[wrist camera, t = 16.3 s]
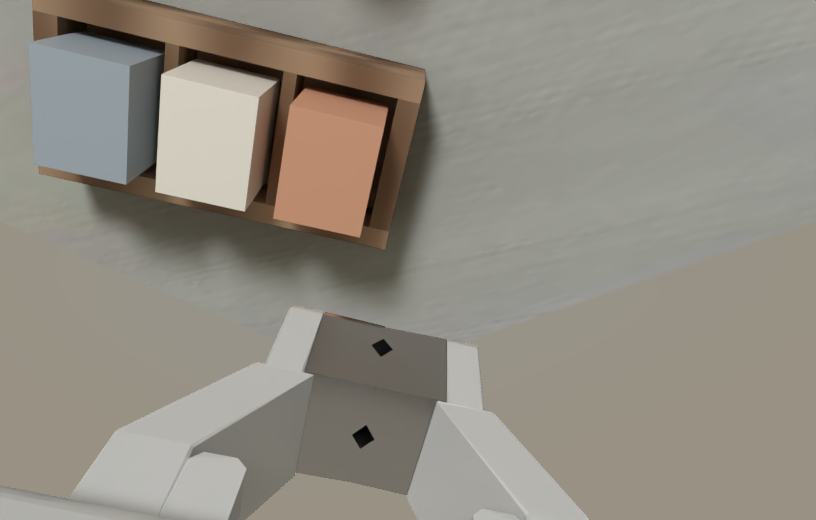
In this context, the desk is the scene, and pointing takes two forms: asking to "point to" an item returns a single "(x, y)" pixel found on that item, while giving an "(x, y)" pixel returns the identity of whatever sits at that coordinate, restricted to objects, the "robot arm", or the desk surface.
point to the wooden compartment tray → (264, 54)
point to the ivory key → (215, 133)
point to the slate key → (95, 105)
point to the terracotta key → (329, 160)
